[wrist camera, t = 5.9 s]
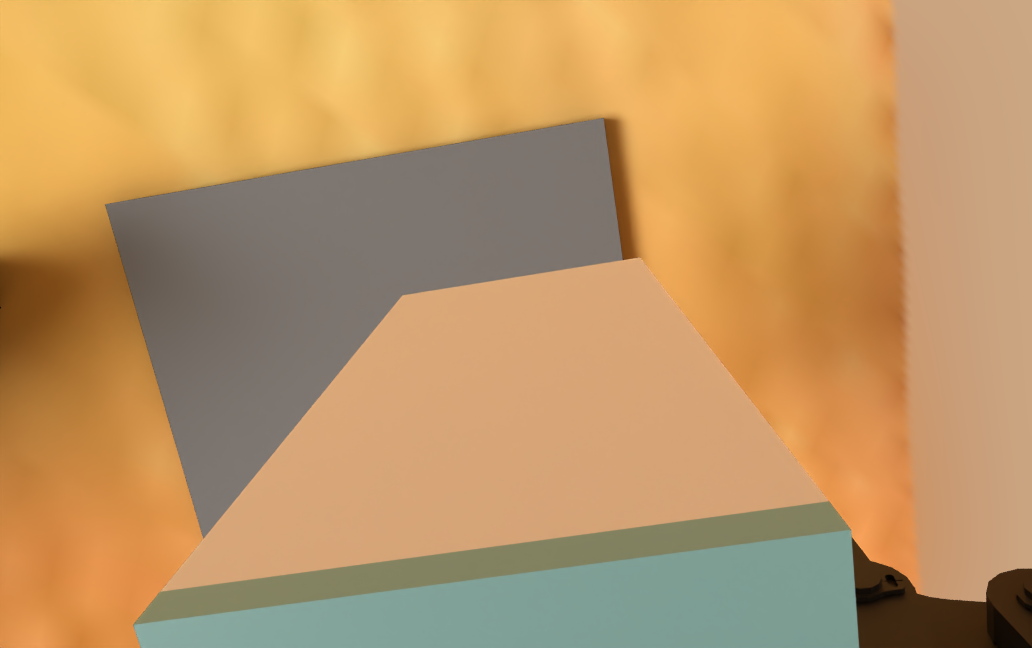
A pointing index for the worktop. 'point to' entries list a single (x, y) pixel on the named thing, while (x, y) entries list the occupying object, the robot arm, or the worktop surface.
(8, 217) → the worktop surface
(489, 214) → the mat
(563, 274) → the cream rectangular block
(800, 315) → the worktop surface
